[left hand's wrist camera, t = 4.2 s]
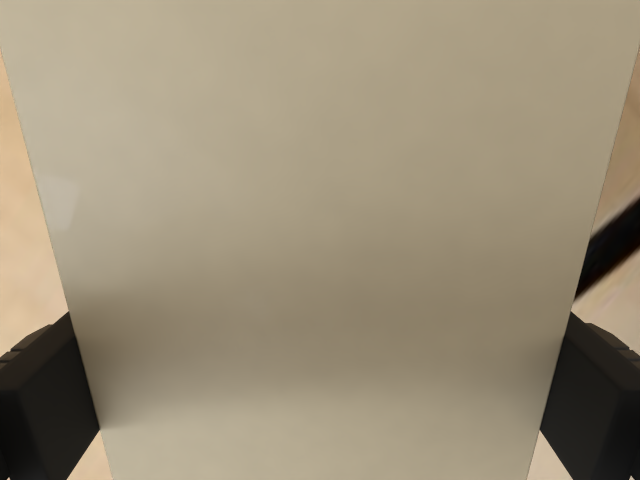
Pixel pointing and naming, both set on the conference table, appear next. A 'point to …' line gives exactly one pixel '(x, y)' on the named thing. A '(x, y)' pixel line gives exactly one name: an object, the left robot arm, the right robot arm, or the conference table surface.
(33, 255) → the conference table surface
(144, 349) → the cabinet
